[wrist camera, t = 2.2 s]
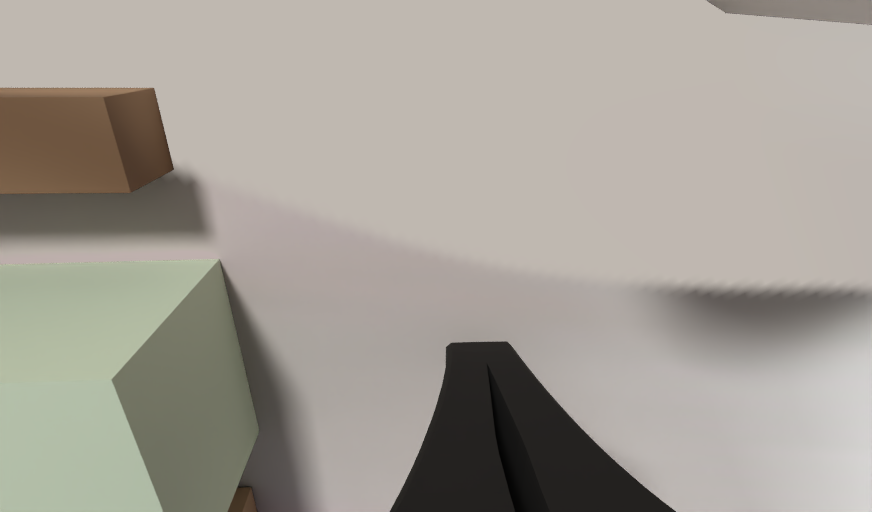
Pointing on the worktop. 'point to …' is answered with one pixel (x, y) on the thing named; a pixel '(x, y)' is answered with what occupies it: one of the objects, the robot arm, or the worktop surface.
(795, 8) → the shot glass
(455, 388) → the robot arm
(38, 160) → the twin wooden rails
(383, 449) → the worktop surface
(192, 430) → the block
